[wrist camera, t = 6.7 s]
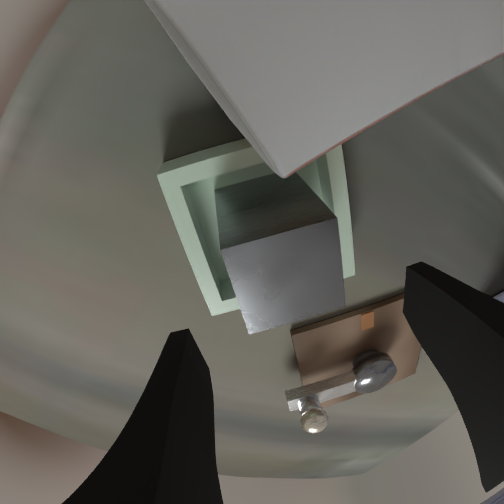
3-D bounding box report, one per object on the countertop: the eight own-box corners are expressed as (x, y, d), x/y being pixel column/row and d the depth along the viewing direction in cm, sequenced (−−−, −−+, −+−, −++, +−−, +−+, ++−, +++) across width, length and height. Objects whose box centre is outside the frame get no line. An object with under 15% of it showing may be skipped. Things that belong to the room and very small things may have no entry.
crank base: (428, 284, 22) (436, 293, 21) (413, 369, 27) (418, 378, 26) (290, 330, 22) (294, 342, 21) (307, 407, 27) (310, 417, 26)
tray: (322, 120, 15) (338, 127, 13) (341, 254, 19) (354, 275, 17) (163, 162, 15) (156, 175, 13) (210, 291, 19) (212, 316, 17)
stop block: (292, 168, 16) (337, 217, 11) (305, 237, 18) (345, 306, 13) (214, 189, 16) (220, 250, 11) (235, 256, 18) (249, 334, 13)
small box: (229, 121, 14) (273, 194, 5) (164, 30, 12) (92, -54, 3) (364, 47, 13) (536, 48, 4) (308, -41, 10) (432, -137, 1)
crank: (392, 346, 22) (414, 384, 19) (389, 373, 24) (407, 408, 21) (282, 383, 22) (293, 427, 19) (289, 406, 24) (299, 446, 21)
